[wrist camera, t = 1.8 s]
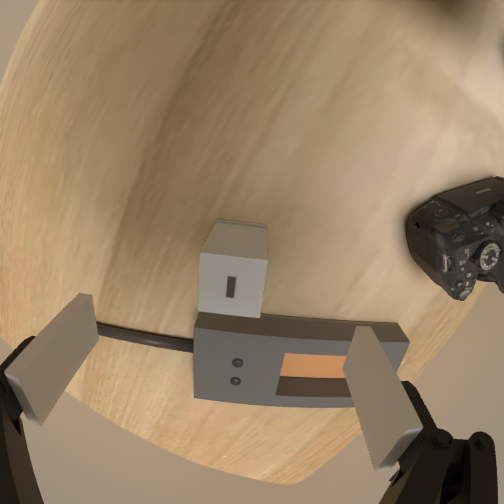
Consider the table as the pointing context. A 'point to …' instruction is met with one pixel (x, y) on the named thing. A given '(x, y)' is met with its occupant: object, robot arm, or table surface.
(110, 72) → the table surface
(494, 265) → the camera
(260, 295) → the block
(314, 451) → the table surface
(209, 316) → the power strip
